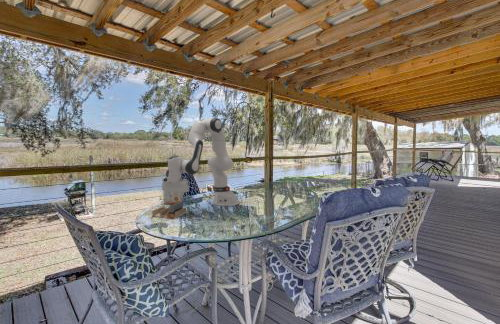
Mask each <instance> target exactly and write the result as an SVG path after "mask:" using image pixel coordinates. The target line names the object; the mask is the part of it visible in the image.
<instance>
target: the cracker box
mask: <svg viewBox="0 0 500 324" xmlns="http://www.w3.org/2000/svg"><path fill="white" fill-rule="evenodd" d="M162 191H163V190H162ZM170 193H171V195H172V197H171V198H169V195H168V193H167V191H163V204H164V205H173V204H176V203H178V202H183V198H180V196H181V195H182V193H181V192H170Z"/></svg>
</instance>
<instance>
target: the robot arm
mask: <svg viewBox="0 0 500 324" xmlns="http://www.w3.org/2000/svg"><path fill="white" fill-rule="evenodd" d="M205 133H210V134H211V147H212V148H211V149H212V151H213V153H215V156H212V157H211V156H210V158H208V160H207V166H208V168H210V170H211V172H212V173H211V174H212V176H213V177H212V178H213V193H214V194H213V202H212V204H213V205H215V206H219V207H220V206H223V207H224V206H225V207H228V206H229V207H231V206H237V205H239V204H240V200H238V197H237V195H236V194H235V193H234V192H232V191H231V186H228V176H227V174H225V171H229V170H231V169H232V168H233V165H234V161H233V160H232V158H231V157H230V156H229V153H228V151H227V146H226V145H227V144H226V136H225V131H224V128H223V123H222V120H221V119H220V118H218V117H208V118H203V119H200V120H196V121H194V123H193V124H192V127H191V128H190V131H189V133H188V136H187V141H188V143H189V144H190V145H191V146H192V147H193V150H192V155H191V158H190V159H184V158H182V157H180V156H179V155H172V156H170V157H169V158H168V161H167V170H168V176H166V177H164V178H162V179H161V180H162V184H161V187H162V188H161V189H162V190H161V191H167V193H168V195H169V198H171V197H172V195H171V193H170V192H181V193H182V195H181V196H180V198H182V199H183V198H184V194H185V193H188V192H189V191H190V186H189V180H187V179H186V178H182V173H185V174H190V175H195V174H197V172H199V169H200V162H201V161H200V160H201V157H202V153H203V150H204V149H203V148H204V143H203V141H204V138H205Z"/></svg>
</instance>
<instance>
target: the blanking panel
mask: <svg viewBox="0 0 500 324" xmlns="http://www.w3.org/2000/svg"><path fill="white" fill-rule="evenodd" d="M183 203H184V202H183V201H182V202H178V203H176V204H170V205H169V207H170V214H174V212H176V211H178V210H180V209H182V208H184V205H183ZM174 216H175V215H174Z"/></svg>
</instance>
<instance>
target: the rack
mask: <svg viewBox="0 0 500 324" xmlns="http://www.w3.org/2000/svg"><path fill="white" fill-rule="evenodd" d="M187 213H188V211H187V207H184V206H183V208H182V209H180V210H178V211H176V212H174V214H170V206H169V207H167V208H166V206H165V205H163V206H160V207H159V208H156V209H154V210H152V212H151V214H152V215H151V218H159V219H162V218H164V219H168V220H173V219H177V218H179V217H180V216H183V215H185V214H187ZM174 215H175V216H174Z"/></svg>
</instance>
